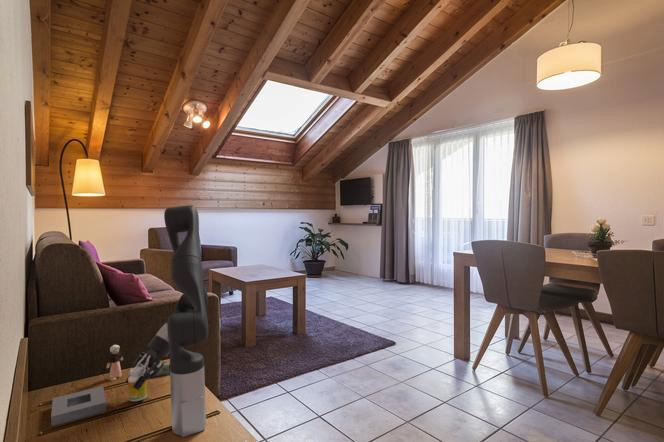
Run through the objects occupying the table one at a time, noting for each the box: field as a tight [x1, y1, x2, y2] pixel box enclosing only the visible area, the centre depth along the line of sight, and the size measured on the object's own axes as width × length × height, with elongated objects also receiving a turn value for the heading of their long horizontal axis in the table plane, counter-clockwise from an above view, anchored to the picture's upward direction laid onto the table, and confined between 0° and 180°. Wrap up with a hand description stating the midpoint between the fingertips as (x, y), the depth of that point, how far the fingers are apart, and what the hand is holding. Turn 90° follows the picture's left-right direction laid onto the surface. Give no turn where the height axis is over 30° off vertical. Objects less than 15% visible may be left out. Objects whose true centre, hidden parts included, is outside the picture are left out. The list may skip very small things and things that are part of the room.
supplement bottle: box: [127, 367, 148, 402], centre depth 126 cm, size 5×5×10 cm
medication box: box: [151, 362, 170, 377], centre depth 147 cm, size 12×3×4 cm, turn 97°
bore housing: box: [50, 385, 108, 428], centre depth 121 cm, size 14×14×3 cm
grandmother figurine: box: [106, 344, 124, 382], centre depth 145 cm, size 8×4×13 cm, turn 179°
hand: (131, 385), depth 125 cm, fingers closed on supplement bottle, 5 cm apart
